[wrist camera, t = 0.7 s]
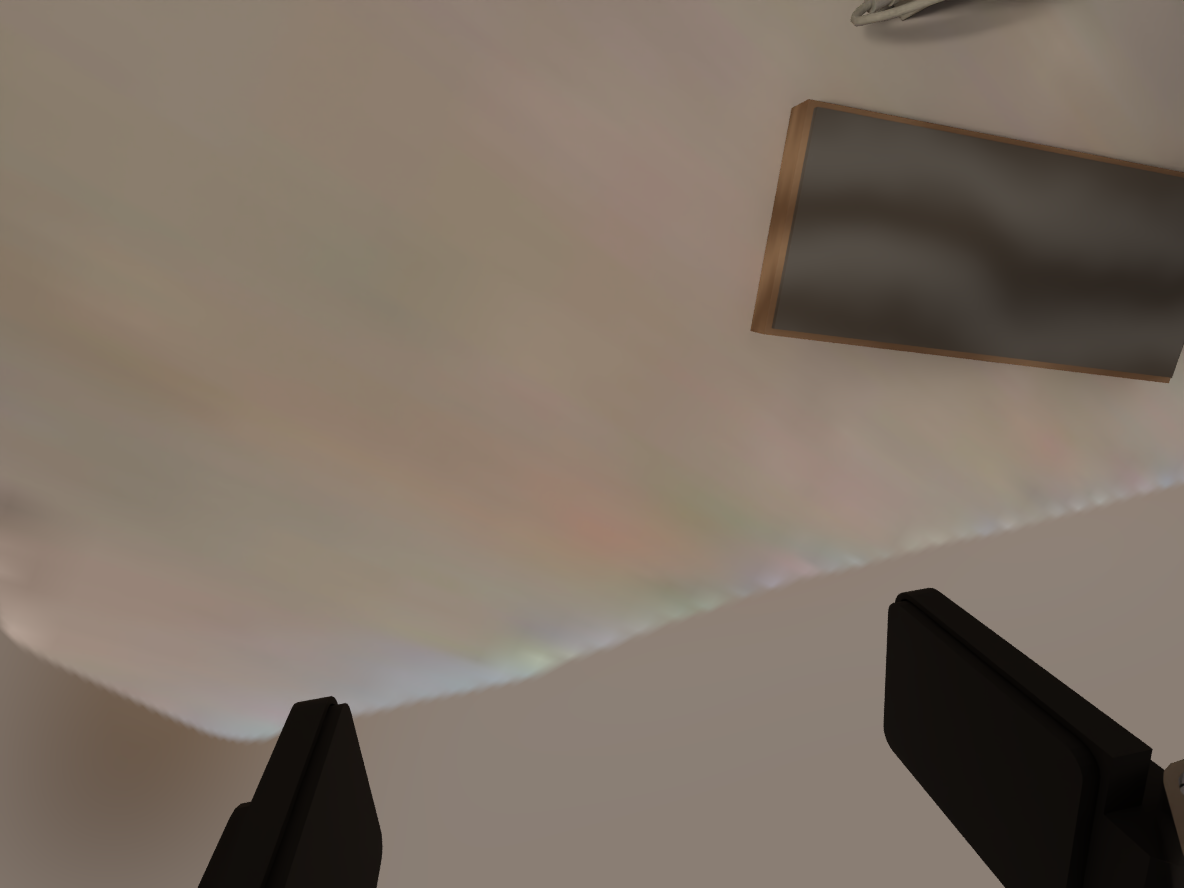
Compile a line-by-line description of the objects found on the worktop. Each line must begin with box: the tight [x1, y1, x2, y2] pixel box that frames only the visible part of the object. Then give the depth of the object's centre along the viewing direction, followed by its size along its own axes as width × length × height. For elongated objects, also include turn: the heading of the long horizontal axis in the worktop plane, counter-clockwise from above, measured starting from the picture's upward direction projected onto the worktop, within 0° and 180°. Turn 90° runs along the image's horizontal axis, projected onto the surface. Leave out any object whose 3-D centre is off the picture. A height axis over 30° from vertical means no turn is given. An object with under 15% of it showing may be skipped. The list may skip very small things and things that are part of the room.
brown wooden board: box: [751, 99, 1184, 383], centre depth 41 cm, size 13×30×2 cm, turn 83°
